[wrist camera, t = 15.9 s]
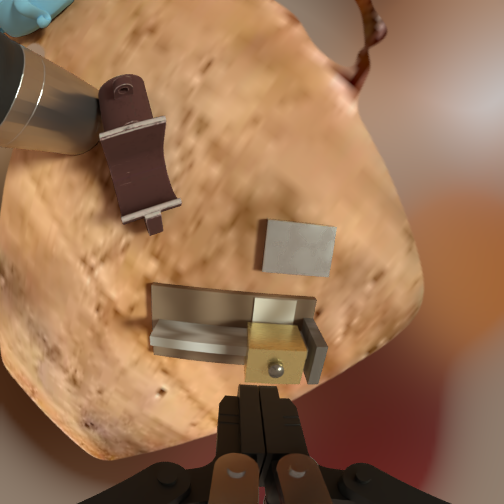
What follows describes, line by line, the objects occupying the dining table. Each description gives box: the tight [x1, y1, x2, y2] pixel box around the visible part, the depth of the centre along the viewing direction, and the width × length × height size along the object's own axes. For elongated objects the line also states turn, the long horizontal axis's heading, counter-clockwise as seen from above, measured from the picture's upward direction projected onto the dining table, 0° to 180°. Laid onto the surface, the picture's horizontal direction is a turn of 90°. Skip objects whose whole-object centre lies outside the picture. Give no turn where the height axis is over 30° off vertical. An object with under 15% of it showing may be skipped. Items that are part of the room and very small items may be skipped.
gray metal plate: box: [262, 219, 337, 277], centre depth 33 cm, size 8×6×1 cm
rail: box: [150, 283, 328, 384], centre depth 32 cm, size 20×10×8 cm, turn 84°
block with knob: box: [244, 322, 307, 384], centre depth 31 cm, size 6×4×7 cm
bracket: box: [98, 74, 182, 236], centre depth 26 cm, size 6×17×10 cm, turn 20°
